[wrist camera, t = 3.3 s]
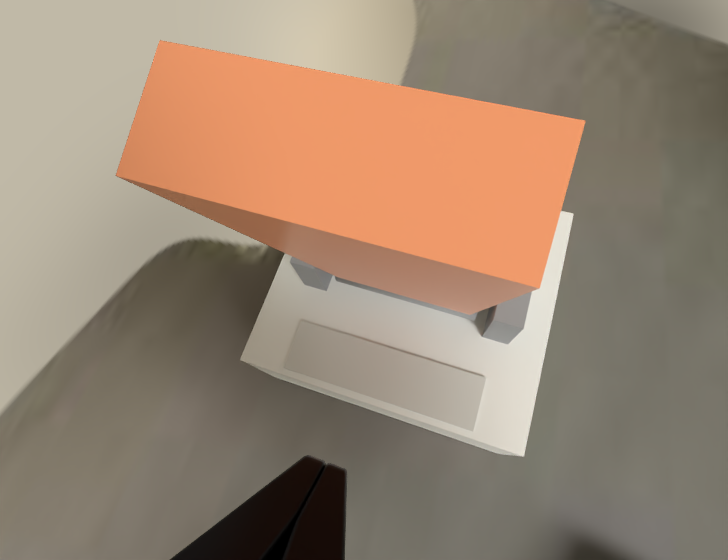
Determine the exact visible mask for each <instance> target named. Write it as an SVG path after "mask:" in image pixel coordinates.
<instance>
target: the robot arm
mask: <svg viewBox="0 0 728 560" xmlns="http://www.w3.org/2000/svg"><path fill="white" fill-rule="evenodd" d="M346 496H347V471H346V469H344V468H342V467H339V466H337V465H334V464H331V463H328V464H327V465H326V463H325V461H323V460H321V459H318V458H315V457H313V456H309V455H307V456H304V457H303V458H301V459H300V460H299V461H297V462H296V463H295V464H294V465H292V466H291V467H290V468H288V469H287V470H286V471H284V472H283V473H282V474H281V475H279V476H278V477H277V478H275V479H274V480H273V481H271V482H270V483H269V484H268V485H266V486H265V487H264V488H262V489H261V490H260V491H258V492H257V493H256V494H255V495H253V496H252V497H251V498H249V499H248V500H247V501H245V502H244V503H243V504H242V505H240V506H239V507H238V508H236V509H235V510H234V511H232V512H231V513H230V514H229V515H227V516H226V517H225V518H223V519H222V520H221V521H219V522H218V523H217V524H216V525H214V526H213V527H212V528H210V529H209V530H208V531H206V532H205V533H204V534H203V535H201V536H200V537H199V538H197V539H196V540H195V541H193V542H192V543H191V544H189V545H188V546H187V547H186V548H184V549H183V550H182V551H180V552H179V553H178V554H176V555H175V556H174V557H173V558H171V559H170V560H345V531H346Z"/></svg>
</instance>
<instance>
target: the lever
mask: <svg viewBox="0 0 728 560" xmlns="http://www.w3.org/2000/svg"><path fill="white" fill-rule="evenodd" d="M584 125H585V121H584V120H579V119H573V118H568V117H563V116H558V115H552V114H547V113H542V112H536V111H531V110H526V109H521V108H515V107H510V106H505V105H499V104H494V103H489V102H484V101H478V100H473V99H468V98H462V97H457V96H452V95H447V94H441V93H436V92H431V91H425V90H420V89H415V88H410V87H404V86H399V85H393V84H388V83H383V82H378V81H372V80H367V79H362V78H357V77H352V76H346V75H340V74H336V73H330V72H325V71H320V70H315V69H309V68H304V67H299V66H293V65H288V64H282V63H278V62H272V61H267V60H262V59H256V58H251V57H246V56H240V55H235V54H230V53H225V52H219V51H214V50H209V49H204V48H198V47H193V46H188V45H182V44H177V43H172V42H167V41H161V40H160V41H159V44H158V47H157V50H156V53H155V56H154V59H153V62H152V66H151V69H150V72H149V75H148V78H147V81H146V84H145V87H144V90H143V93H142V96H141V100H140V102H139V106H138V109H137V112H136V115H135V118H134V121H133V124H132V127H131V130H130V133H129V136H128V139H127V143H126V145H125V149H124V152H123V155H122V158H121V161H120V164H119V167H118V170H117V173H116V176H117V177H120V178H122V179H124V180H126V181H128V182H130V183H133V184H135V185H137V186H139V187H142V188H144V189H146V190H148V191H150V192H152V193H155V194H157V195H159V196H161V197H163V198H166V199H168V200H170V201H172V202H174V203H176V204H179V205H181V206H183V207H185V208H187V209H190V210H192V211H194V212H196V213H199V214H201V215H203V216H205V217H207V218H209V219H211V220H214V221H216V222H218V223H220V224H223V225H225V226H227V227H229V228H231V229H233V230H235V231H238V232H240V233H242V234H244V235H247V236H249V237H251V238H253V239H255V240H257V241H260V242H262V243H264V244H266V245H268V246H271V247H273V248H275V249H277V250H279V251H281V252H284V253H286V254H288V255H290V256H292V257H295V258H297V259H299V260H301V261H303V262H306V263H308V264H310V265H312V266H314V267H316V268H319V269H321V270H323V271H325V272H327V273H330V274H332V275H334V276H335V279H336V281H338V282H341V283H345V284H348V285H352V286H355V287H359V288H362V289H366V290H369V291H372V292H376V293H379V294H383V295H386V296H390V297H393V298H397V299H400V300H404V301H407V302H411V303H414V304H418V305H421V306H425V307H428V308H432V309H435V310H438V311H442V312H445V313H449V314H452V315H456V316H459V317H463V318H466V319H470V320H473V321H474V320H475V318H476V315H477V313H478V312H479V311H482V310H484V309H487V308H490V307H492V306H495V305H497V304H500V303H503V302H505V301H508V300H511V299H513V298H516V297H518V296H521V295H524V294H526V293H529V292H532V291H534V290H537V289H539V288H540V285H541V282H542V278H543V274H544V271H545V267H546V264H547V260H548V256H549V253H550V249H551V245H552V242H553V238H554V234H555V231H556V227H557V223H558V220H559V216H560V212H561V209H562V205H563V201H564V198H565V194H566V191H567V187H568V183H569V180H570V176H571V172H572V169H573V165H574V161H575V158H576V154H577V150H578V147H579V143H580V139H581V136H582V132H583V128H584Z"/></svg>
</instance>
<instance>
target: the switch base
mask: <svg viewBox="0 0 728 560" xmlns="http://www.w3.org/2000/svg"><path fill="white" fill-rule="evenodd" d="M572 219H573V214H572V213H568V212H563V211H561V212H560V216H559V220H558V223H557V227H556V231H555V234H554V238H553V242H552V245H551V249H550V253H549V256H548V260H547V264H546V267H545V271H544V274H543V278H542V282H541V285H540V288H539V289H537V290H534V291H532V292H529V293H526V294H524V295H521V296H518V297H516V298H513V299H511V300H508V301H505V302H503V303H500V304H497V305H495V306H492V307H490V308H487V309H484V310H482V311H479V312H478V313H477V315H476V318H475V320H474V321H473V320H470V319H466V318H463V317H459V316H456V315H452V314H449V313H445V312H442V311H438V310H435V309H432V308H428V307H425V306H421V305H418V304H414V303H411V302H407V301H404V300H400V299H397V298H393V297H390V296H386V295H383V294H379V293H376V292H372V291H369V290H366V289H362V288H359V287H355V286H352V285H348V284H345V283H341V282H338V281H336V279H335V276H334V275H332V274H330V273H327V272H325V271H323V270H321V269H319V268H316V267H314V266H312V265H310V264H308V263H306V262H303V261H301V260H299V259H297V258H295V257H292V256H290V255H288V254H286V253H285V254H284V256H283V259H282V261H281V263H280V266H279V268H278V270H277V273H276V275H275V278H274V280H273V282H272V285H271V287H270V290H269V292H268V294H267V297H266V299H265V301H264V304H263V306H262V309H261V311H260V313H259V316H258V318H257V320H256V323H255V325H254V328H253V330H252V332H251V335H250V337H249V339H248V342H247V344H246V347H245V349H244V351H243V354H242V356H241V358H240V360H241V361H243V362H245V363H247V364H249V365H251V366H253V367H255V368H257V369H259V370H262V371H264V372H266V373H268V374H270V375H272V376H274V377H276V378H279V379H282V380H285V381H288V382H291V383H293V384H296V385H299V386H302V387H305V388H308V389H311V390H314V391H317V392H320V393H323V394H325V395H328V396H331V397H334V398H337V399H340V400H343V401H346V402H349V403H352V404H355V405H357V406H360V407H363V408H366V409H369V410H372V411H375V412H378V413H381V414H384V415H387V416H389V417H392V418H395V419H398V420H401V421H404V422H407V423H410V424H413V425H416V426H419V427H422V428H424V429H427V430H430V431H433V432H436V433H439V434H442V435H445V436H448V437H451V438H454V439H456V440H459V441H462V442H465V443H468V444H471V445H474V446H477V447H480V448H483V449H486V450H488V451H491V452H494V453H497V454H505V455H514V456H523V457H524V453H525V448H526V443H527V439H528V434H529V429H530V424H531V419H532V414H533V409H534V404H535V400H536V395H537V390H538V385H539V380H540V375H541V370H542V365H543V361H544V356H545V351H546V346H547V341H548V336H549V331H550V326H551V322H552V317H553V312H554V307H555V302H556V297H557V292H558V287H559V283H560V278H561V273H562V268H563V263H564V258H565V253H566V248H567V243H568V239H569V234H570V229H571V224H572Z"/></svg>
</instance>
